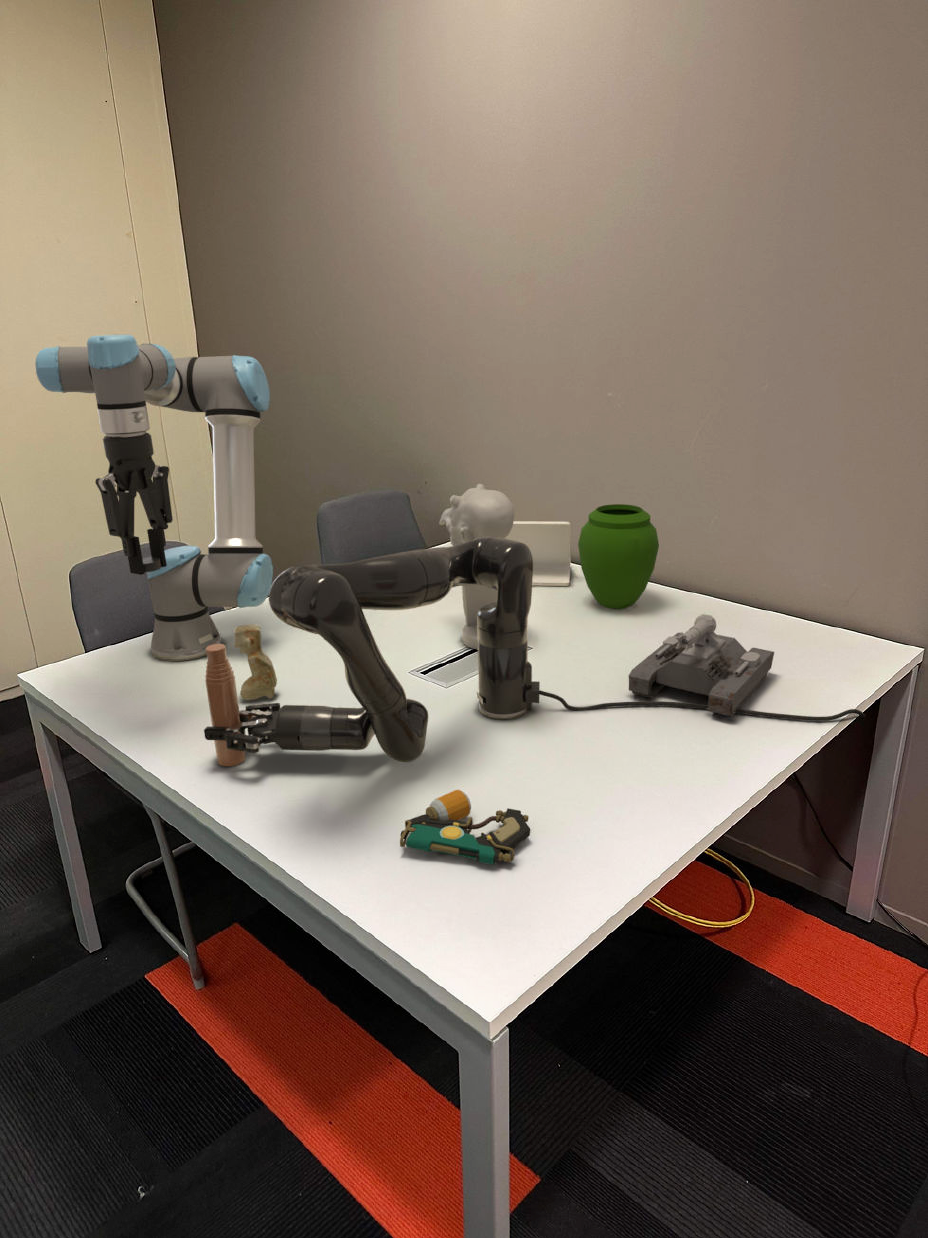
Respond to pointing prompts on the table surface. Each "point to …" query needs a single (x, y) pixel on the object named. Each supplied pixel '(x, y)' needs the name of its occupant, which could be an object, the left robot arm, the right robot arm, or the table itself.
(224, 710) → the bottle
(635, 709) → the table surface
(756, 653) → the toy
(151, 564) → the cap
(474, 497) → the bust sculpture
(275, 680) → the sculpture
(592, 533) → the vase
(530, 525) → the tablet stand
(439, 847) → the spray gun
